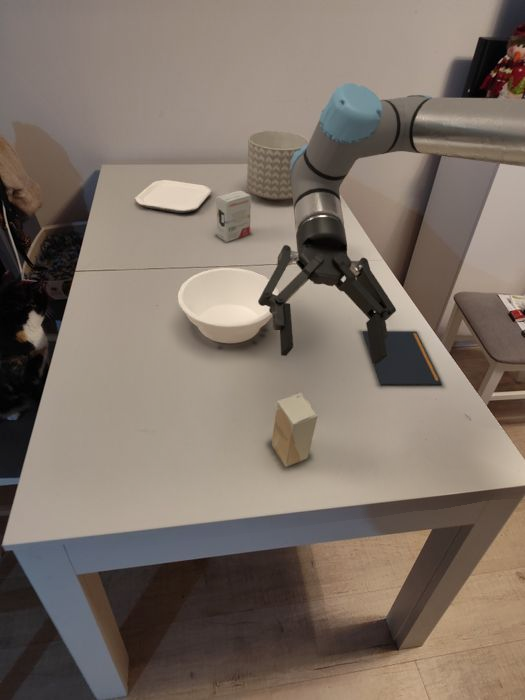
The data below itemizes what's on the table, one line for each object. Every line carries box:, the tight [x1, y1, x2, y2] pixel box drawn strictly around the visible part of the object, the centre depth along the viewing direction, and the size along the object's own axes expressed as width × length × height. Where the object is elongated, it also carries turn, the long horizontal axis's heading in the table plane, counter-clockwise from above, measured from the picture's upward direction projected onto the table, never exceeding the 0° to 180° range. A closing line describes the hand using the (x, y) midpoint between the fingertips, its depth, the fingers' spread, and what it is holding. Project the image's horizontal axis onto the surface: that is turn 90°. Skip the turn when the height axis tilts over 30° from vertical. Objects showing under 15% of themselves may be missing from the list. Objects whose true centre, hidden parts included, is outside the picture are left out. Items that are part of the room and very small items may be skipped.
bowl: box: [177, 267, 280, 344], centre depth 94 cm, size 21×21×8 cm
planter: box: [246, 130, 310, 202], centre depth 145 cm, size 19×19×18 cm
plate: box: [134, 179, 213, 214], centre depth 143 cm, size 21×21×2 cm
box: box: [271, 392, 319, 468], centre depth 69 cm, size 5×4×11 cm
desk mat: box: [362, 330, 443, 386], centre depth 91 cm, size 16×12×1 cm
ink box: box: [216, 189, 252, 243], centre depth 124 cm, size 9×5×12 cm, turn 130°
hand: (334, 356), depth 60 cm, fingers open, 13 cm apart
